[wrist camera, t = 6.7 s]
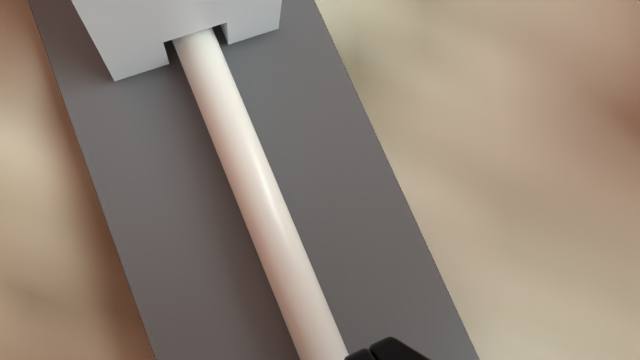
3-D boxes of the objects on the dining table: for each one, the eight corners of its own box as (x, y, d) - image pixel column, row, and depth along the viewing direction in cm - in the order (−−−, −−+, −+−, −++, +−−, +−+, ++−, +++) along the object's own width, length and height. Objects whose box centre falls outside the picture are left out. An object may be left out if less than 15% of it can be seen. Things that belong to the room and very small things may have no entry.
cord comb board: (509, 447, 16) (585, 481, 13) (242, 589, 15) (241, 677, 11) (196, -239, 21) (185, -360, 17) (-36, -190, 19) (-102, -313, 15)
